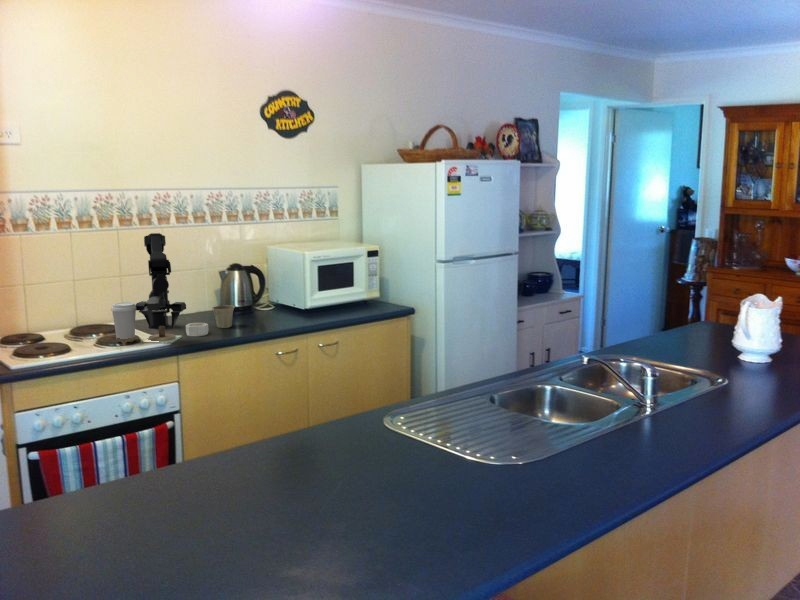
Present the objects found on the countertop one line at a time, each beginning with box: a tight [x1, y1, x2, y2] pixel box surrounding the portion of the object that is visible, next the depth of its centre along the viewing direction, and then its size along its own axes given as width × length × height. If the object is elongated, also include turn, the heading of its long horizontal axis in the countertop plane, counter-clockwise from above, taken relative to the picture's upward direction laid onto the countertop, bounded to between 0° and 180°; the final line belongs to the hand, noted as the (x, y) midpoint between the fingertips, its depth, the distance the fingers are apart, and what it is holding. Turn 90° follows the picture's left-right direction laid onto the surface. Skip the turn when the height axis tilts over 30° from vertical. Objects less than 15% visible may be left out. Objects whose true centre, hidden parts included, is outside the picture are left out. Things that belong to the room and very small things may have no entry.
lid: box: [148, 326, 176, 341], centre depth 291 cm, size 10×10×5 cm
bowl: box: [185, 322, 209, 337], centre depth 302 cm, size 8×8×4 cm
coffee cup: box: [110, 301, 137, 339], centre depth 287 cm, size 10×10×15 cm
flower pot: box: [211, 304, 236, 329], centre depth 317 cm, size 9×9×9 cm
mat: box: [146, 335, 183, 344], centre depth 292 cm, size 12×11×1 cm
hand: (161, 327), depth 291 cm, fingers open, 9 cm apart
